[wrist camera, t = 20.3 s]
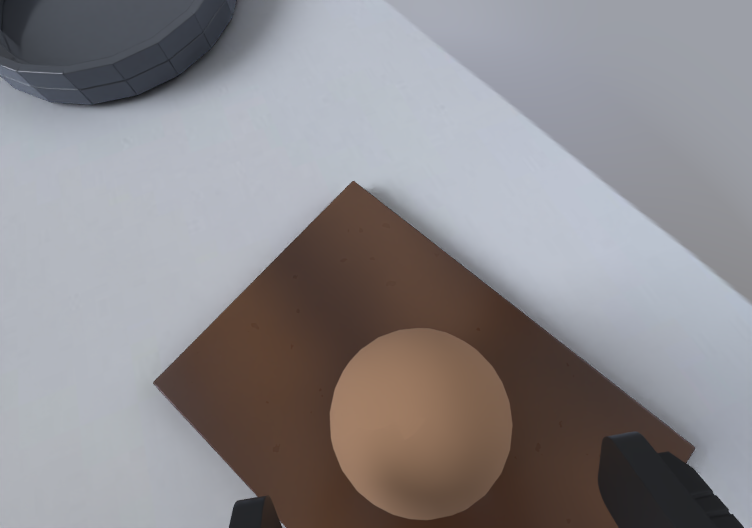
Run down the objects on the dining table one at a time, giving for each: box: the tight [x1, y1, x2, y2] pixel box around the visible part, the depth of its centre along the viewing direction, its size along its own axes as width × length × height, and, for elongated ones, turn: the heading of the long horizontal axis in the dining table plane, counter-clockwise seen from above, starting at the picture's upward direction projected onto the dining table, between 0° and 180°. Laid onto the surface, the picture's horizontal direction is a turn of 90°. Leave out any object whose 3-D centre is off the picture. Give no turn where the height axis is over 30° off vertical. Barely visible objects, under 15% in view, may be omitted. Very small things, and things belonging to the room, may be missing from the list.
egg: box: [330, 328, 513, 520], centre depth 16 cm, size 6×6×8 cm
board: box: [153, 181, 695, 528], centre depth 21 cm, size 14×20×1 cm
